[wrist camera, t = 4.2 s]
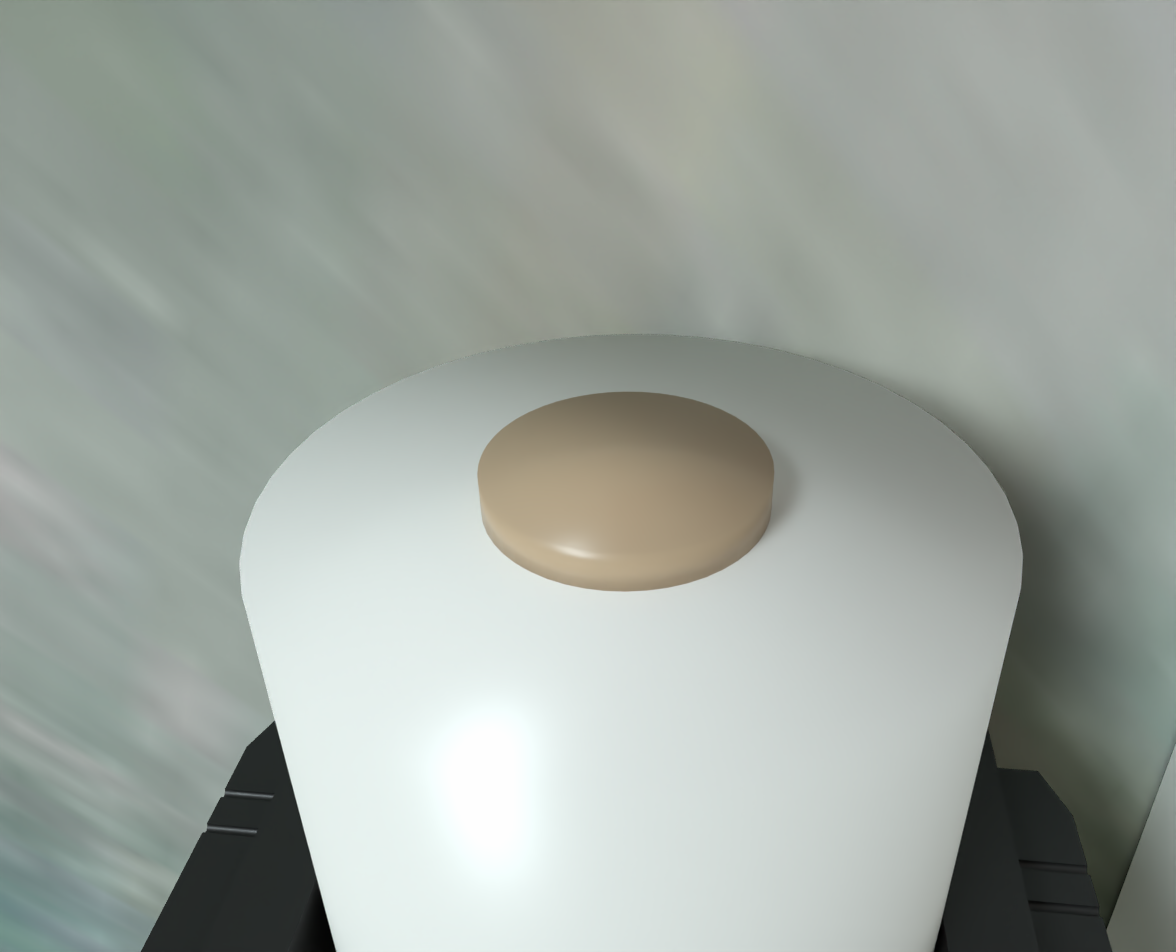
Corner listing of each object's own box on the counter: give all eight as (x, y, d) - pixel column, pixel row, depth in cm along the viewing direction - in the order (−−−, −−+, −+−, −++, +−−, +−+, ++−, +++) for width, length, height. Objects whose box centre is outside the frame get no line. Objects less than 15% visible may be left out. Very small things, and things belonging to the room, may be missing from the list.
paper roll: (376, 293, 10) (63, 704, 6) (971, 314, 9) (1129, 809, 5) (471, 932, 15) (345, 1396, 11) (854, 979, 14) (879, 1498, 10)
